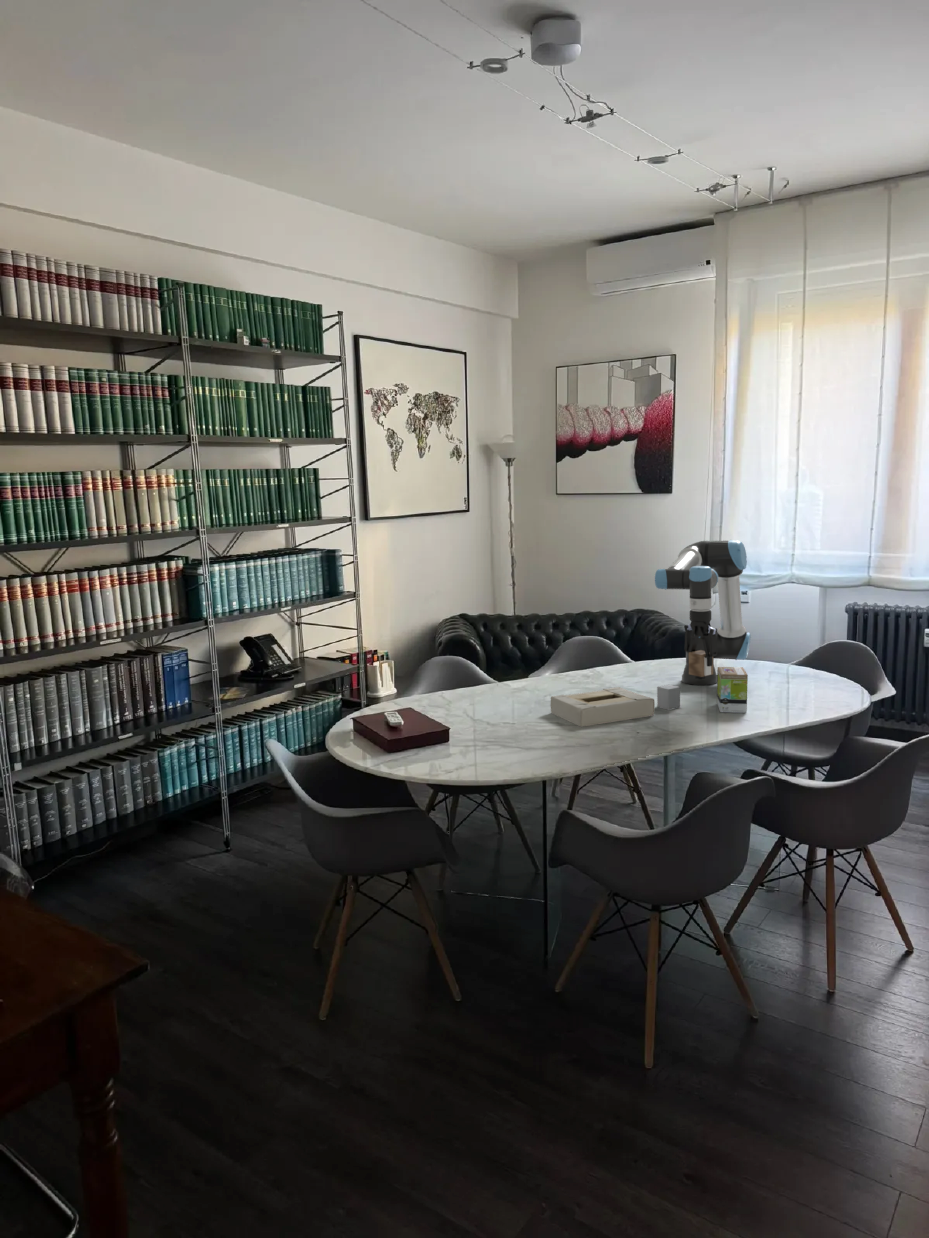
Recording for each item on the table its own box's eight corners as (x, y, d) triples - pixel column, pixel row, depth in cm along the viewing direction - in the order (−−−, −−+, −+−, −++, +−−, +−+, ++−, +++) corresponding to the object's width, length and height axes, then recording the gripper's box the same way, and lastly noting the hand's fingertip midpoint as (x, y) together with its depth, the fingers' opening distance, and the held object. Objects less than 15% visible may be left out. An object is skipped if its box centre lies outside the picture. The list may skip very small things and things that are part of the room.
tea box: (747, 713, 317) (748, 674, 315) (719, 712, 319) (719, 673, 317) (743, 703, 332) (743, 666, 330) (716, 703, 334) (716, 665, 332)
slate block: (657, 706, 331) (657, 686, 330) (668, 704, 335) (668, 684, 333) (668, 709, 326) (668, 689, 325) (679, 707, 329) (679, 687, 328)
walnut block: (688, 674, 309) (688, 652, 308) (700, 671, 312) (700, 650, 311) (701, 676, 304) (701, 654, 303) (713, 674, 307) (713, 652, 306)
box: (581, 729, 306) (655, 716, 319) (580, 707, 305) (655, 696, 318) (549, 715, 328) (620, 704, 340) (548, 696, 327) (619, 685, 339)
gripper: (673, 608, 311) (673, 670, 314) (713, 613, 294) (713, 679, 298) (688, 606, 314) (688, 667, 318) (728, 611, 298) (728, 676, 302)
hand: (700, 673), depth 308 cm, fingers closed on walnut block, 6 cm apart
